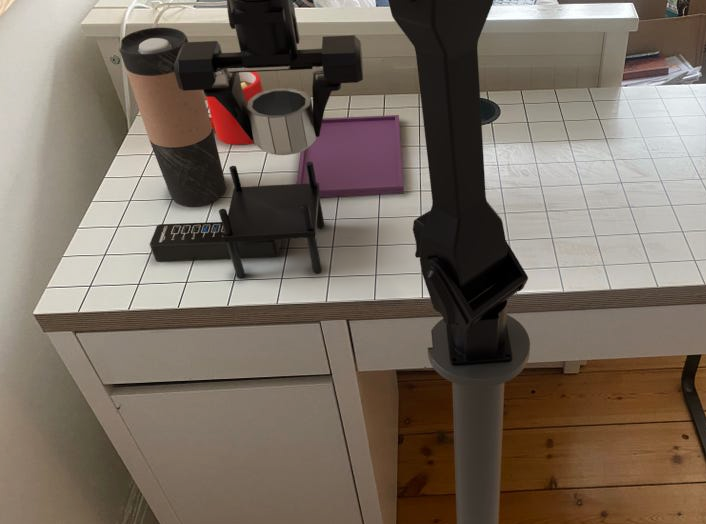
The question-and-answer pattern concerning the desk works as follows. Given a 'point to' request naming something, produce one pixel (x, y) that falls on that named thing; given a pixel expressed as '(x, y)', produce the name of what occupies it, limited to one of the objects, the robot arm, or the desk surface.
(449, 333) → the robot arm
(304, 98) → the bowl
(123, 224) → the desk surface
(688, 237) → the desk surface
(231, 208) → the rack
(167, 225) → the multiport hub
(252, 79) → the mug
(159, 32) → the travel mug
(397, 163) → the purple tray
